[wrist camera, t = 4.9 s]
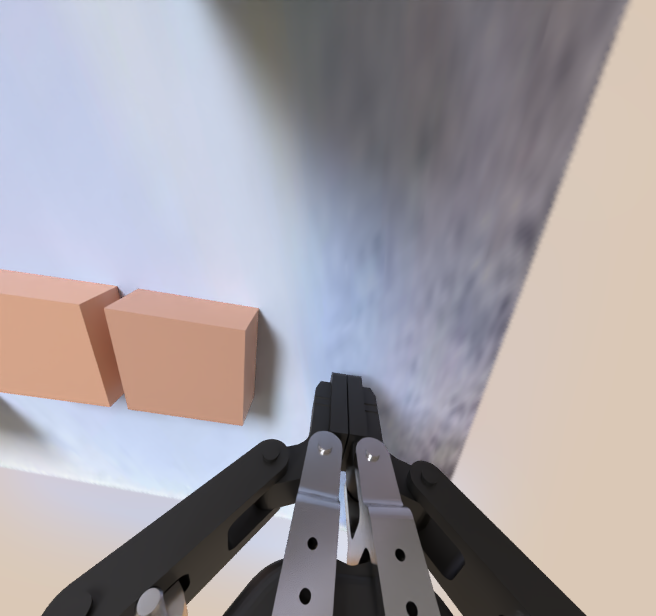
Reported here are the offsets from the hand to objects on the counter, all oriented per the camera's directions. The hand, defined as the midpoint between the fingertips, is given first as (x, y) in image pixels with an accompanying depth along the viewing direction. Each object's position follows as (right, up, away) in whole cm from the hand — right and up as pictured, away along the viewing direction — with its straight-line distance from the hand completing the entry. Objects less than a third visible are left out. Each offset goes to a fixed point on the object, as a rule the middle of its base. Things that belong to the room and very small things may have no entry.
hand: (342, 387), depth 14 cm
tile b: (-8, +2, +1) cm, 8 cm away
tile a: (-15, +3, +1) cm, 15 cm away
